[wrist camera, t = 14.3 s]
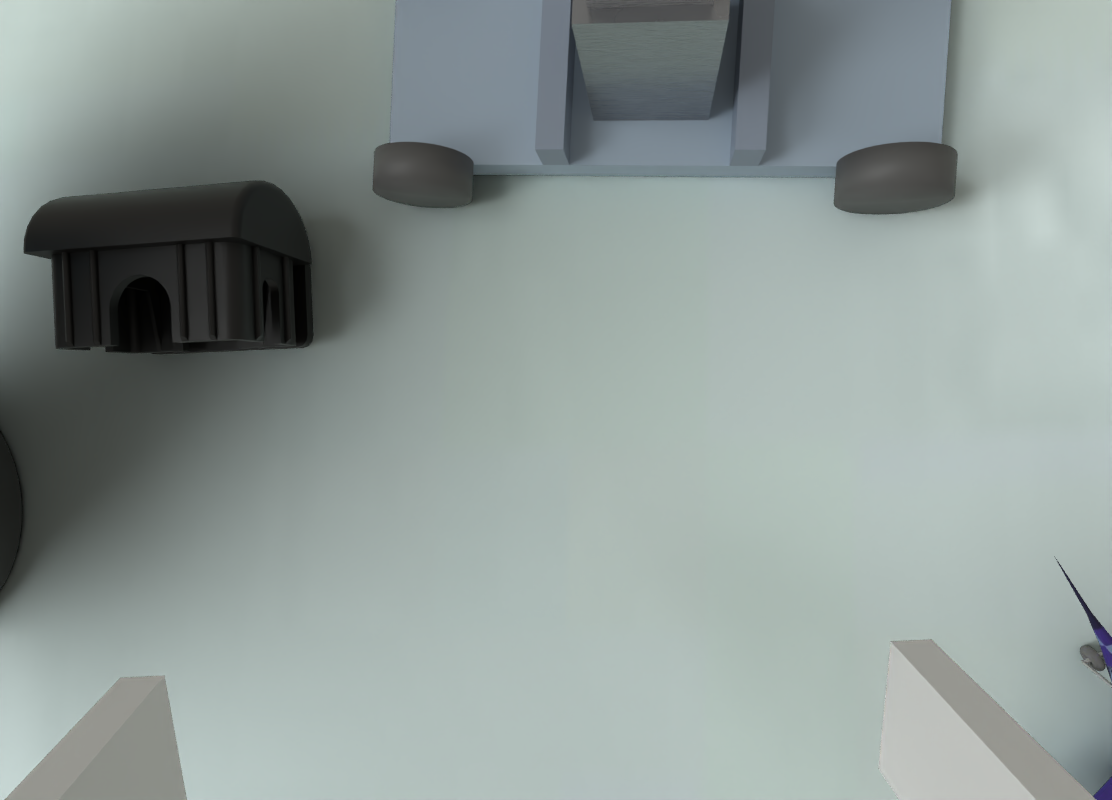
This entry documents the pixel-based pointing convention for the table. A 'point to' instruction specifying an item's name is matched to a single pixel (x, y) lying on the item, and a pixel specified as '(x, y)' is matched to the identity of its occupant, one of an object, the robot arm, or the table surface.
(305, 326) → the black arched housing
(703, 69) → the capped grey pillar
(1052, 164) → the table surface
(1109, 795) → the toy airplane
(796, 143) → the chassis
